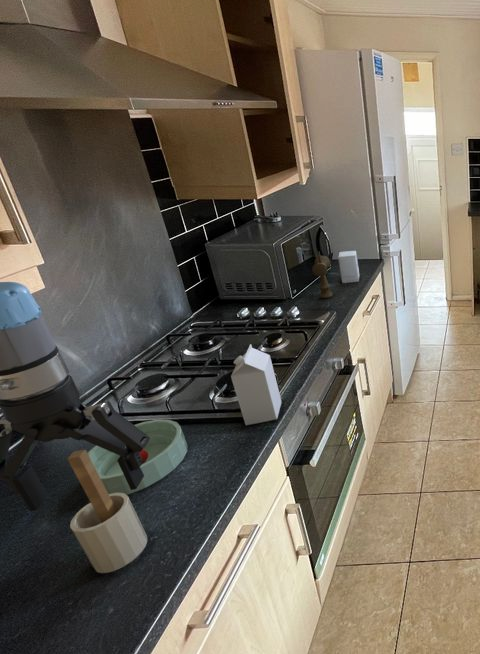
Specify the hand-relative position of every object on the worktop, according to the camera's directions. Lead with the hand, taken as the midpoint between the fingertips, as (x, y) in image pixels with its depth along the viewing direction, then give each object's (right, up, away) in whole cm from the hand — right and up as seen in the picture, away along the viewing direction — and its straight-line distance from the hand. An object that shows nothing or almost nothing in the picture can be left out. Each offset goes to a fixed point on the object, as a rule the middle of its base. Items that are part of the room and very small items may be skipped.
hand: (90, 493), depth 68 cm
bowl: (-12, -7, +23) cm, 27 cm away
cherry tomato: (-13, -5, +23) cm, 27 cm away
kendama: (-8, +26, +105) cm, 108 cm away
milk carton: (+5, -1, +39) cm, 40 cm away
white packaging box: (-4, +33, +121) cm, 126 cm away
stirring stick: (0, -13, +6) cm, 15 cm away
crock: (0, -14, +6) cm, 15 cm away
